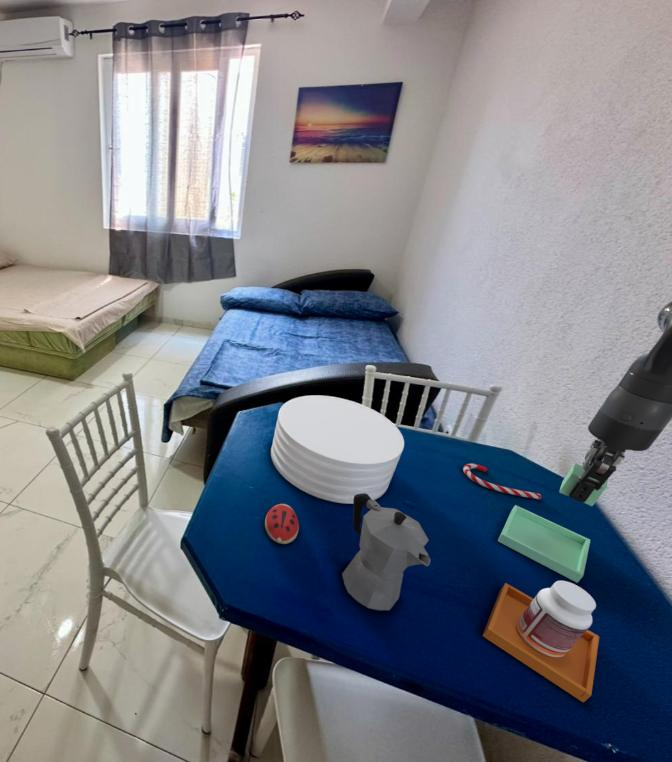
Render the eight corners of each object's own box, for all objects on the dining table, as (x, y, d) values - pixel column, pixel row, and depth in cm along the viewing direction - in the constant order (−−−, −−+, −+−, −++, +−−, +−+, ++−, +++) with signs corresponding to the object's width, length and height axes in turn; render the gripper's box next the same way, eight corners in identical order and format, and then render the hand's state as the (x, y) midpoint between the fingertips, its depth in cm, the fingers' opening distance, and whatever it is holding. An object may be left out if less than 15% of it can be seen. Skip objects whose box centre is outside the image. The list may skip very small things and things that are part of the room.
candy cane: (543, 503, 90) (463, 475, 98) (540, 507, 91) (461, 479, 98) (540, 484, 96) (464, 459, 103) (537, 488, 97) (462, 463, 104)
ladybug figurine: (298, 514, 87) (301, 502, 85) (297, 551, 78) (300, 539, 77) (266, 506, 88) (269, 494, 87) (262, 542, 80) (264, 529, 78)
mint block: (594, 494, 75) (608, 475, 73) (592, 506, 72) (606, 487, 70) (562, 481, 78) (574, 462, 76) (558, 492, 75) (571, 473, 73)
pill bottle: (575, 656, 62) (616, 613, 57) (541, 661, 62) (579, 618, 56) (537, 616, 68) (571, 574, 63) (505, 621, 67) (537, 578, 62)
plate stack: (282, 420, 119) (289, 385, 113) (388, 448, 108) (402, 412, 103) (259, 478, 96) (266, 439, 91) (389, 521, 86) (407, 480, 80)
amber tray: (592, 643, 65) (599, 636, 64) (583, 703, 58) (591, 695, 57) (500, 590, 73) (505, 582, 72) (482, 636, 65) (487, 628, 64)
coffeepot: (420, 615, 68) (461, 541, 59) (373, 630, 66) (410, 555, 57) (357, 541, 81) (384, 472, 72) (316, 551, 79) (339, 481, 70)
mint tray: (584, 546, 82) (590, 539, 81) (577, 583, 74) (583, 575, 73) (510, 511, 90) (515, 504, 89) (497, 541, 82) (502, 534, 81)
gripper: (666, 443, 60) (602, 524, 68) (665, 410, 69) (608, 486, 77) (597, 421, 65) (545, 499, 73) (604, 393, 74) (557, 465, 82)
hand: (578, 492), depth 75 cm, fingers closed on mint block, 4 cm apart
